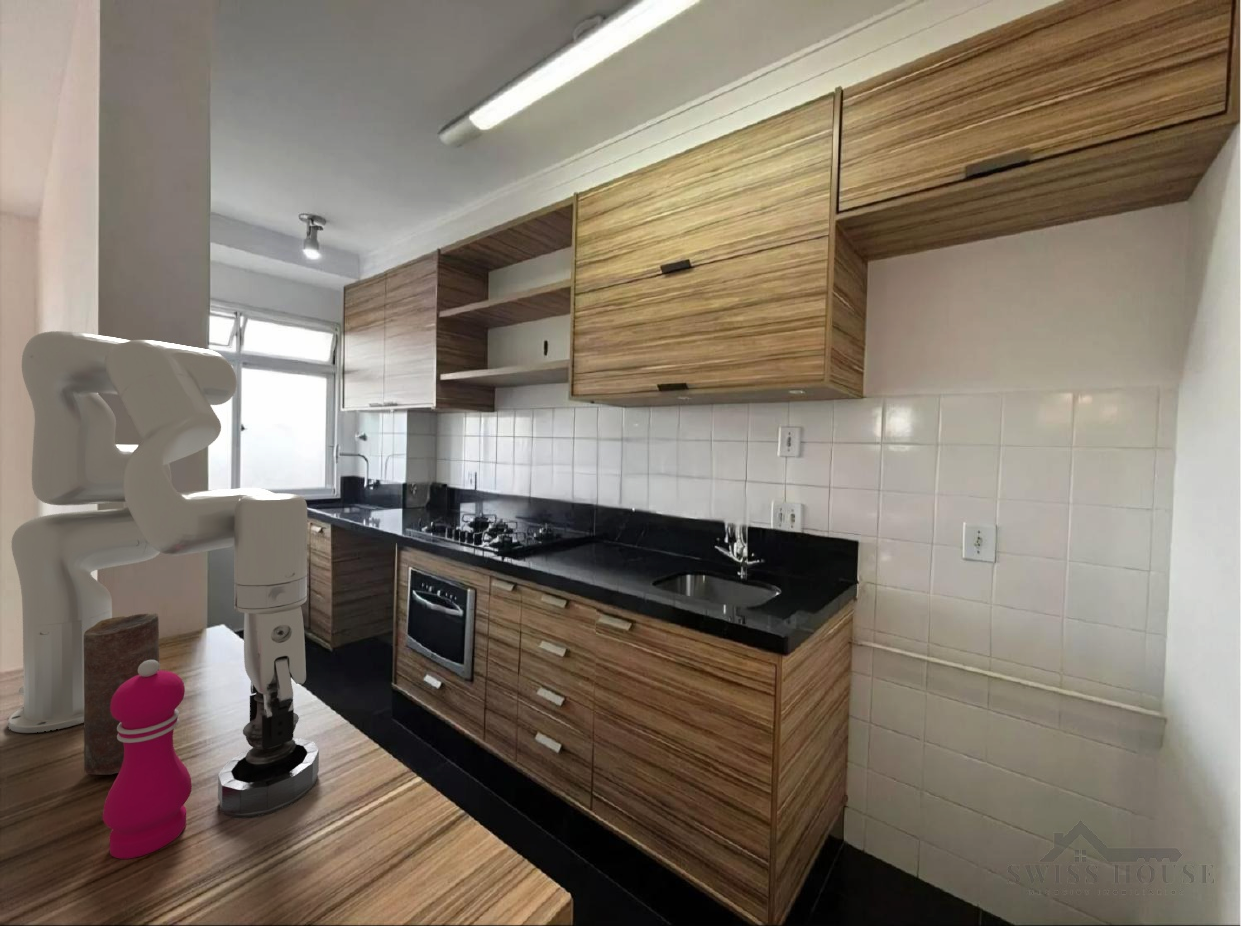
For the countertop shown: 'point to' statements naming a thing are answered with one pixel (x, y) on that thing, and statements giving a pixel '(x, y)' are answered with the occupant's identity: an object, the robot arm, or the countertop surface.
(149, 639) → the candle
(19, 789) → the countertop surface
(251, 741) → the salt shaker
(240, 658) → the countertop surface
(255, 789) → the dark gray faceted bowl
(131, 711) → the pepper mill
